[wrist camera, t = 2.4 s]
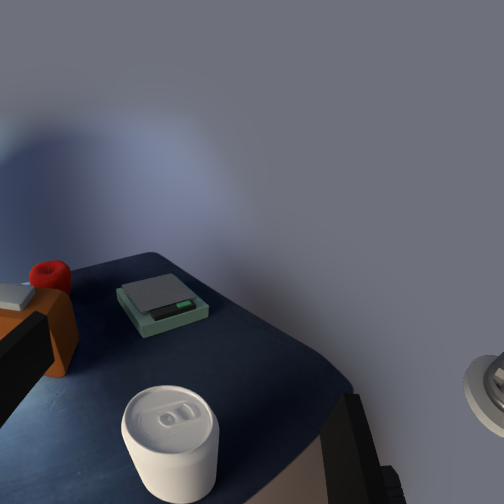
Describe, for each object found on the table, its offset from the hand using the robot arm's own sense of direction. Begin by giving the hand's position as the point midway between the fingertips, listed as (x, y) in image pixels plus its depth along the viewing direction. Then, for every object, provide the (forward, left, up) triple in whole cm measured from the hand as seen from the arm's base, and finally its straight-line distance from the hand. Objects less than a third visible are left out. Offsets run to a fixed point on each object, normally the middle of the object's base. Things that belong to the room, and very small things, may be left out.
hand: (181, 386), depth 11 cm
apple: (+47, +3, -23) cm, 52 cm away
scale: (+36, -16, -23) cm, 45 cm away
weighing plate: (+37, -16, -20) cm, 44 cm away
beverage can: (+6, -2, -23) cm, 24 cm away
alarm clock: (+35, +13, -23) cm, 43 cm away
